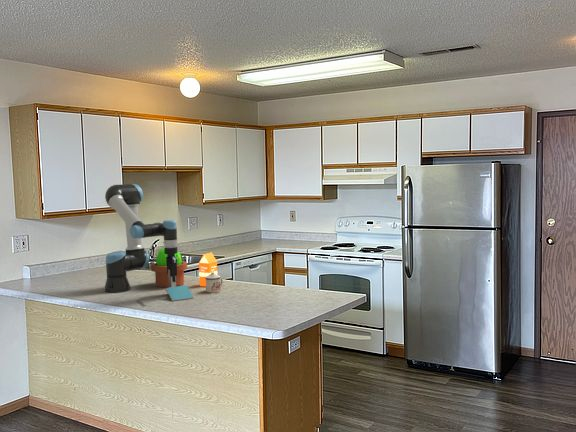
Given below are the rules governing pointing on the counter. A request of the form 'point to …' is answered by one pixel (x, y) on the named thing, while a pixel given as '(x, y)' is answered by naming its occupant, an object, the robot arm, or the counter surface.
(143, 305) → the rubber tool mat
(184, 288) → the ceramic tile
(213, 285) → the teacup with lid
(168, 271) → the steel trowel
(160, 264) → the potted cactus
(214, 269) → the orange juice
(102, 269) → the counter surface
